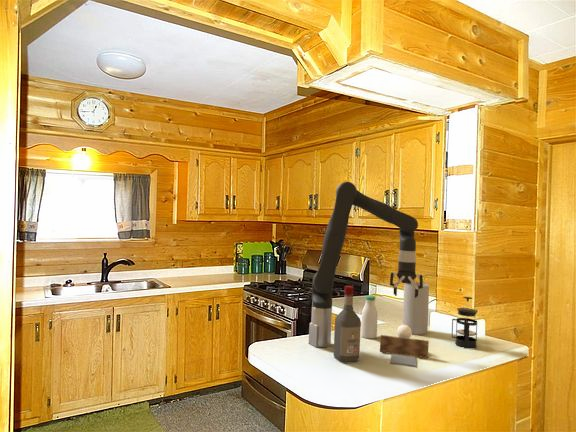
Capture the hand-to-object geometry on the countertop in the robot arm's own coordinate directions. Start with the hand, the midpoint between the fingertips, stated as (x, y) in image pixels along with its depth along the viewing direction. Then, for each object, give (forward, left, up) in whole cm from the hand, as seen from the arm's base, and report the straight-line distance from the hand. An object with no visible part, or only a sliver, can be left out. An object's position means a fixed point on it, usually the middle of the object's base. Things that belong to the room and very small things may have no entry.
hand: (405, 296), depth 181 cm
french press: (+32, -8, -24) cm, 41 cm away
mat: (-12, -11, -24) cm, 29 cm away
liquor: (-32, +1, -24) cm, 40 cm away
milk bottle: (-2, +21, -24) cm, 32 cm away
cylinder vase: (+27, +18, -24) cm, 40 cm away
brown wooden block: (-5, -5, -24) cm, 25 cm away
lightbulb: (0, 0, -24) cm, 24 cm away
